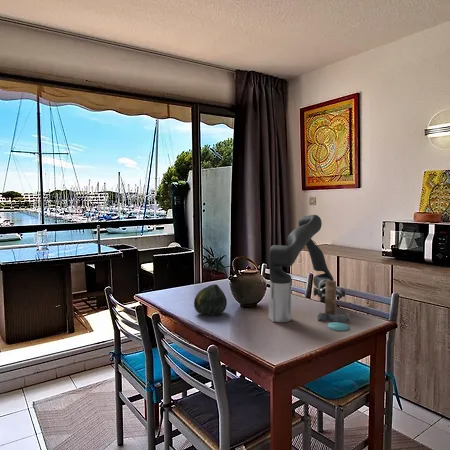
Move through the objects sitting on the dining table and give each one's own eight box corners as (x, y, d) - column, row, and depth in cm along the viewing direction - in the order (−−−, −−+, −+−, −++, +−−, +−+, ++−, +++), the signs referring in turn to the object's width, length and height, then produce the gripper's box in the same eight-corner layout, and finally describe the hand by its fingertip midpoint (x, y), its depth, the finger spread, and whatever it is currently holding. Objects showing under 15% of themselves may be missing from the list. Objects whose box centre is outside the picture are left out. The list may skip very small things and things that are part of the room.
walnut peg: (327, 317, 174) (328, 282, 173) (323, 314, 179) (323, 280, 177) (337, 317, 175) (337, 282, 174) (332, 314, 180) (333, 280, 178)
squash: (188, 299, 186) (196, 280, 176) (215, 296, 193) (225, 278, 183) (196, 324, 177) (205, 306, 168) (225, 321, 184) (236, 303, 174)
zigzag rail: (318, 322, 168) (318, 315, 168) (316, 318, 173) (316, 311, 173) (350, 322, 167) (350, 315, 167) (347, 319, 172) (347, 312, 172)
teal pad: (333, 331, 156) (333, 329, 156) (324, 324, 165) (324, 323, 165) (352, 330, 158) (352, 328, 158) (342, 323, 166) (342, 321, 166)
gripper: (312, 279, 192) (314, 287, 176) (341, 280, 190) (347, 288, 174) (311, 294, 192) (314, 303, 176) (341, 295, 190) (346, 304, 174)
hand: (330, 296), depth 175 cm, fingers open, 8 cm apart
